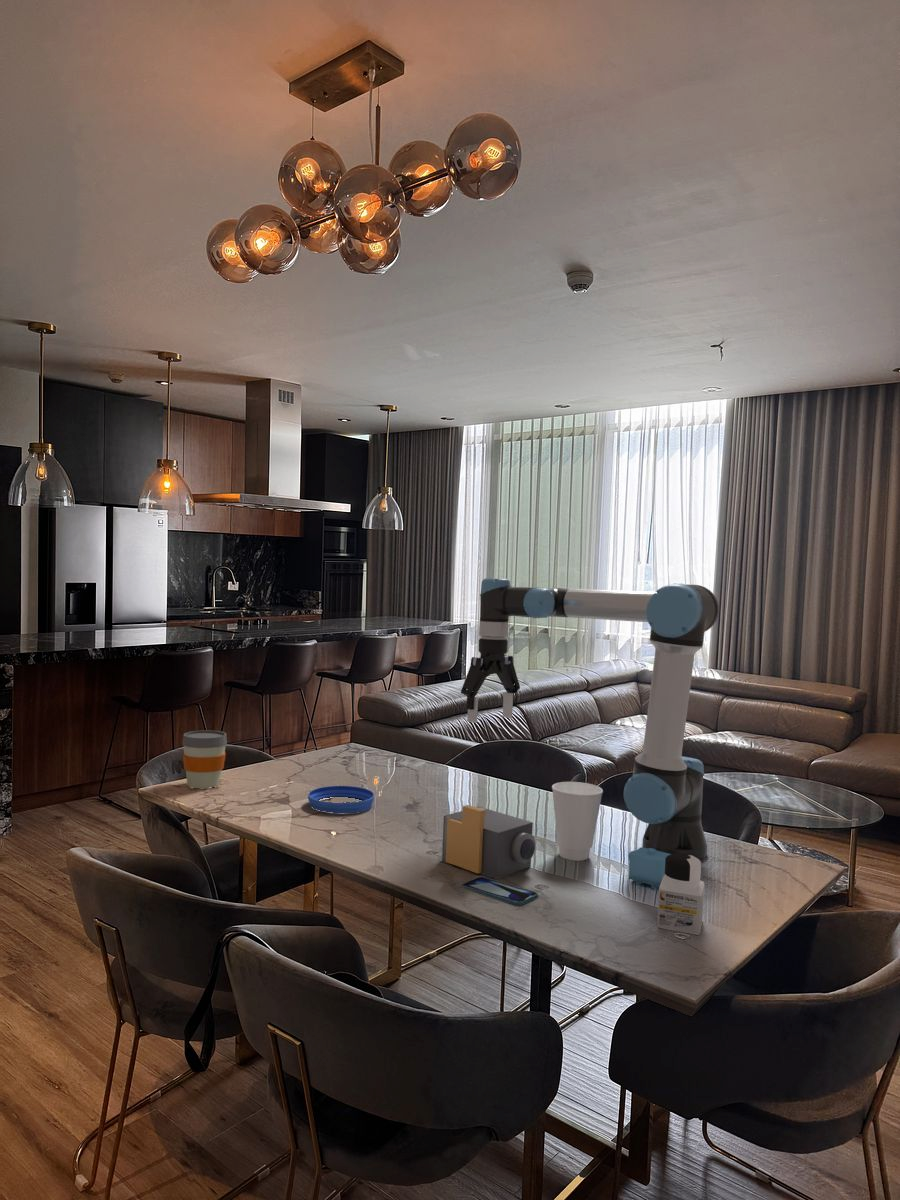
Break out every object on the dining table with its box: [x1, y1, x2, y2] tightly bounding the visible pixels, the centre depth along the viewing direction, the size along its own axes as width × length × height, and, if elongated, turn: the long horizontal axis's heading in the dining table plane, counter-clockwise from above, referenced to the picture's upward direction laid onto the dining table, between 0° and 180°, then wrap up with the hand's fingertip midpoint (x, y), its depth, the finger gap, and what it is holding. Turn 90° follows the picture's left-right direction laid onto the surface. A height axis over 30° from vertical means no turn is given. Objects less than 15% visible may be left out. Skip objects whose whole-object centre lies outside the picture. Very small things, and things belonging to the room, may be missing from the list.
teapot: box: [627, 846, 670, 890], centre depth 179 cm, size 12×6×8 cm, turn 54°
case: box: [441, 806, 536, 880], centre depth 186 cm, size 18×12×11 cm, turn 47°
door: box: [442, 804, 485, 875], centre depth 183 cm, size 11×2×14 cm, turn 47°
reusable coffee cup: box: [182, 729, 228, 789], centre depth 243 cm, size 12×13×15 cm
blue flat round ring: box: [307, 785, 375, 814], centre depth 229 cm, size 18×18×4 cm
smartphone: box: [461, 876, 539, 906], centre depth 171 cm, size 7×1×15 cm
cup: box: [551, 781, 604, 862], centre depth 195 cm, size 12×12×16 cm
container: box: [656, 853, 705, 936], centre depth 158 cm, size 8×8×13 cm
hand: (490, 719), depth 216 cm, fingers open, 13 cm apart
